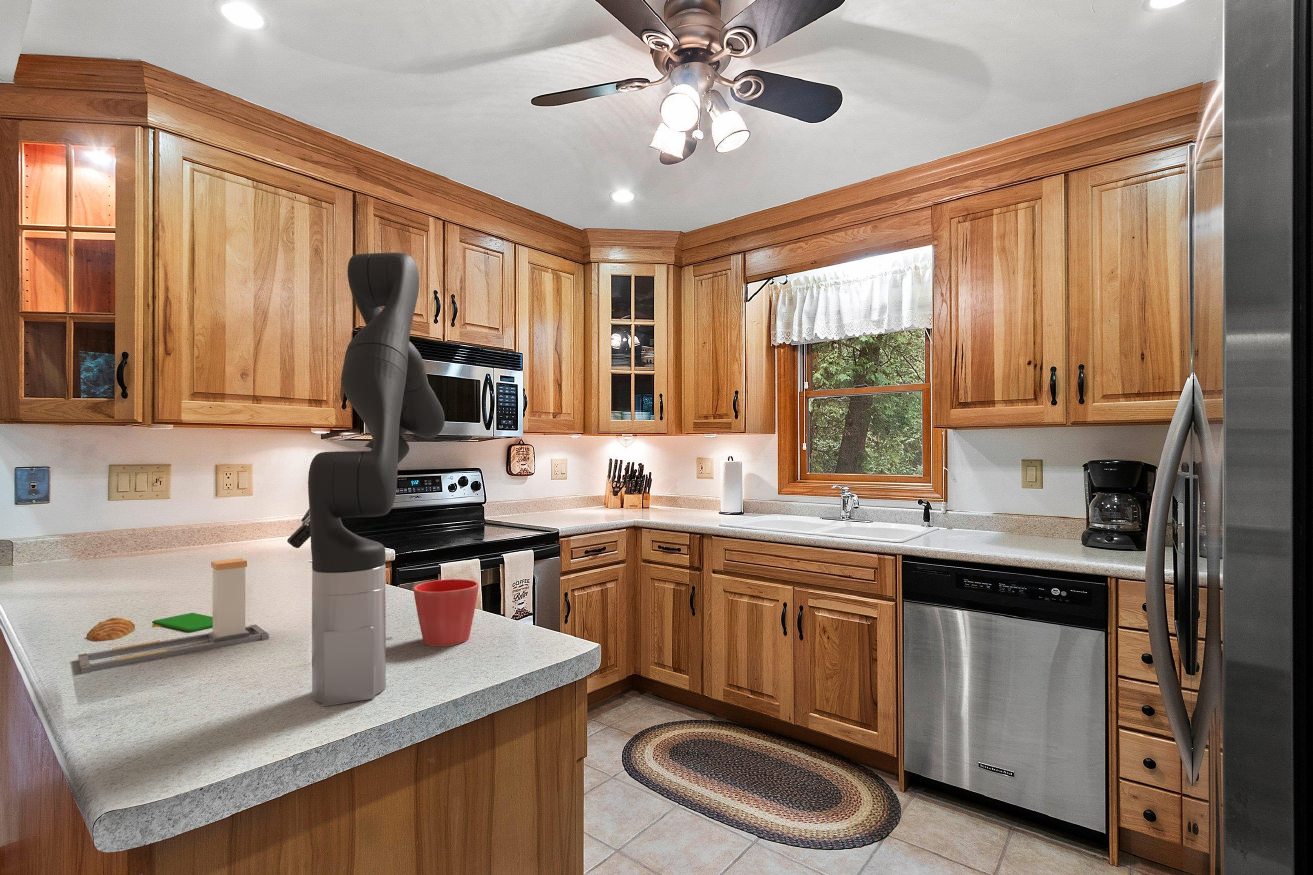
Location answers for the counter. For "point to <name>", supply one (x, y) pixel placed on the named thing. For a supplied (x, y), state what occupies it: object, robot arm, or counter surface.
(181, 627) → the dish sponge
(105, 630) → the pastry
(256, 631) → the track
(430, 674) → the counter surface
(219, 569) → the fader
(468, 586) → the flower pot
